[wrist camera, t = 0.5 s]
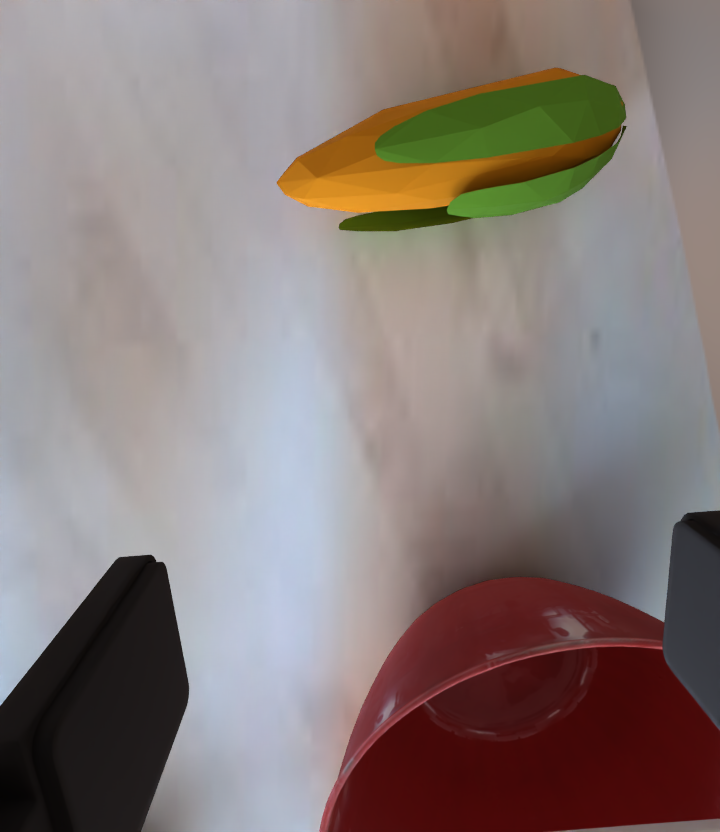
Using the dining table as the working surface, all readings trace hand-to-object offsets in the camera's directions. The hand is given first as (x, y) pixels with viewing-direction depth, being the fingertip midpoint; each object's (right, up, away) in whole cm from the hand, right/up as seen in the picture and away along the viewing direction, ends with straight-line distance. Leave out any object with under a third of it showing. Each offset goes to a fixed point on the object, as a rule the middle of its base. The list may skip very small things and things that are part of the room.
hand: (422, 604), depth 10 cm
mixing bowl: (+10, -17, +35) cm, 40 cm away
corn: (+4, +19, +25) cm, 31 cm away
